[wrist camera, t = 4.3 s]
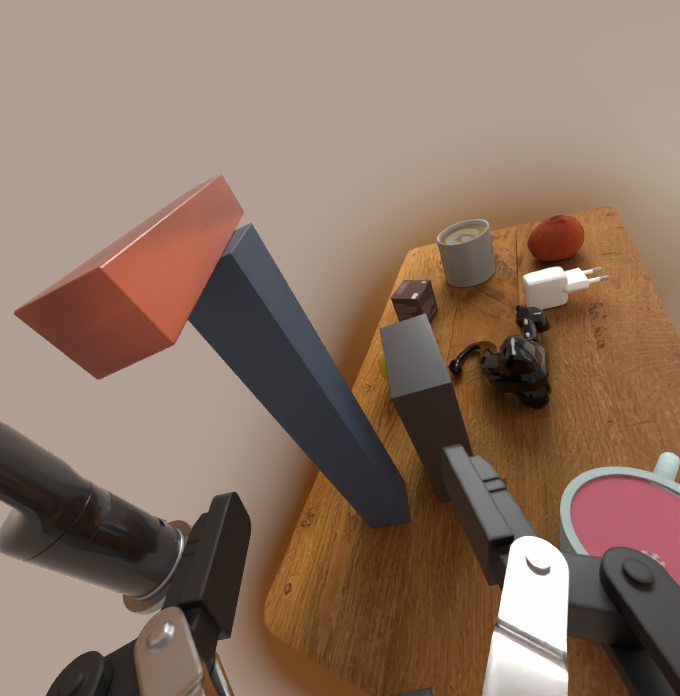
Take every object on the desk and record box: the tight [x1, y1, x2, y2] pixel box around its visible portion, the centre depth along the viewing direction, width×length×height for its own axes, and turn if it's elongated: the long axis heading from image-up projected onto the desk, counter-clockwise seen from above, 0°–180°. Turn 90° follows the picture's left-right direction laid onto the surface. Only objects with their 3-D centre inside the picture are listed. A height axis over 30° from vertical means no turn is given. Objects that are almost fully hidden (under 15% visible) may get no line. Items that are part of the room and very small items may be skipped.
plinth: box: [380, 313, 473, 503], centre depth 35 cm, size 5×10×20 cm, turn 179°
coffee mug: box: [437, 219, 495, 287], centre depth 67 cm, size 13×10×10 cm
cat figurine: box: [448, 305, 552, 410], centre depth 48 cm, size 10×14×18 cm
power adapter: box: [522, 267, 609, 310], centre depth 52 cm, size 11×5×6 cm, turn 80°
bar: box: [14, 174, 244, 379], centre depth 17 cm, size 3×18×3 cm, turn 7°
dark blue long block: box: [188, 223, 411, 528], centre depth 30 cm, size 5×5×36 cm
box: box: [391, 280, 438, 323], centre depth 63 cm, size 6×6×7 cm
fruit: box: [528, 215, 584, 261], centre depth 60 cm, size 9×9×8 cm
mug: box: [560, 452, 680, 586], centre depth 25 cm, size 14×9×10 cm
